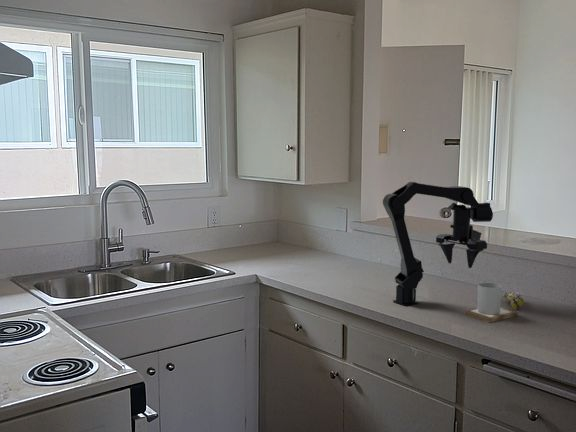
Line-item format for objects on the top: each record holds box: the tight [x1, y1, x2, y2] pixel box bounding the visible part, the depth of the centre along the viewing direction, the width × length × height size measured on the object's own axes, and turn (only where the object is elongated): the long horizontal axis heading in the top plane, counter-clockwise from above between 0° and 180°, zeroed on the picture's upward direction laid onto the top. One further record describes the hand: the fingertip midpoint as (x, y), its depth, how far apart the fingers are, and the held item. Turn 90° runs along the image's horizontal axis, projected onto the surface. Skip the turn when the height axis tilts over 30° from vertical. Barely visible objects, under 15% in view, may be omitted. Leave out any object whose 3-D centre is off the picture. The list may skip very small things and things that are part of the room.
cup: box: [476, 282, 502, 315], centre depth 188 cm, size 7×10×9 cm
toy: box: [501, 290, 525, 310], centre depth 201 cm, size 5×5×15 cm
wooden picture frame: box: [463, 306, 519, 323], centre depth 189 cm, size 14×10×1 cm
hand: (459, 265), depth 204 cm, fingers open, 9 cm apart
